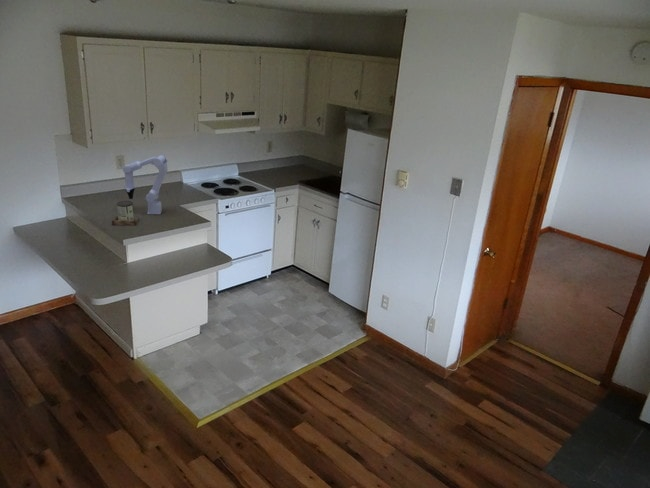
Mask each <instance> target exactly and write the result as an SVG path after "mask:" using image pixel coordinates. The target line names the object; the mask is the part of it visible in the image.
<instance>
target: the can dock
mask: <svg viewBox="0 0 650 488" xmlns="http://www.w3.org/2000/svg"><path fill="white" fill-rule="evenodd" d="M139 221H140V216H136V217H134V220H119V218H118V215H114V218H113V219H112V220H111V225H112V226H137V225H138V223H139Z"/></svg>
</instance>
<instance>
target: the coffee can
mask: <svg viewBox="0 0 650 488" xmlns="http://www.w3.org/2000/svg"><path fill="white" fill-rule="evenodd" d="M116 205H117V208H116V209H117V216H118V220H135V215H134V206H133V205H134V202H133V201H132V200H122V201H121V200H120V201H117V203H116Z"/></svg>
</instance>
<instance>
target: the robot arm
mask: <svg viewBox="0 0 650 488" xmlns="http://www.w3.org/2000/svg"><path fill="white" fill-rule="evenodd" d="M148 165H153V166H155V167H156V169H158V172H157V175H156V178H155V180H154V182H153V185H152V187H151V189H150V190H149V191H148V194H146V196H145V200H146V201H147V213H146V214H147V215H161V213H162V211H163V210H162V209H163V208H162V201H159V200H158V198H159V195H160V194H159V193H160V188H161V187H162V184H163V182H164V179H165V177H166V175H167V172H168V159H167V157H166V156H164V155H163V154H160V155H155V156H152V157H150V158H147V159H144V160H142V161H140V160H134V162H129V163H128V164H126V165H124V166H123V167H122V172H123V173H124V181H125V186H124V187H123V188H124V189H125V193H127V196H128V199H129V200H133V199H134V192H135V190H136V189H135V182H134V172H135V171H138V170H142V167H144V166H148Z"/></svg>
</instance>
